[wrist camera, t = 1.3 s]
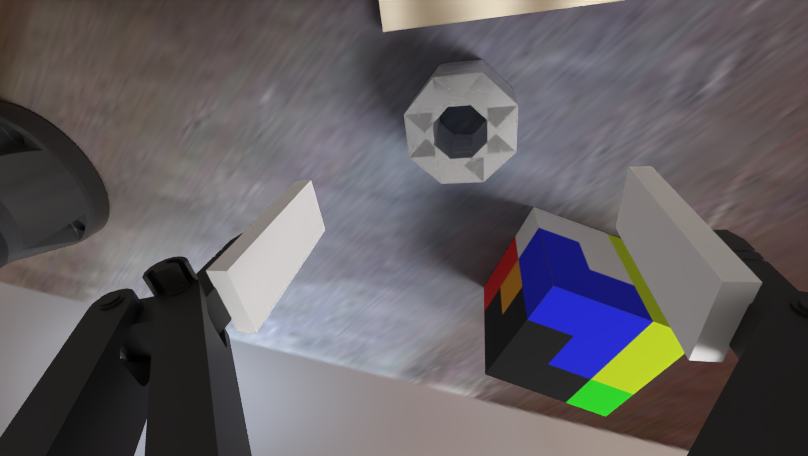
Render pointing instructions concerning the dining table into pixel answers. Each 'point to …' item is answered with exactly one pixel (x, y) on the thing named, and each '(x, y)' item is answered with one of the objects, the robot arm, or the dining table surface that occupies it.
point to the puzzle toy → (573, 316)
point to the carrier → (462, 10)
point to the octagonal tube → (462, 152)
